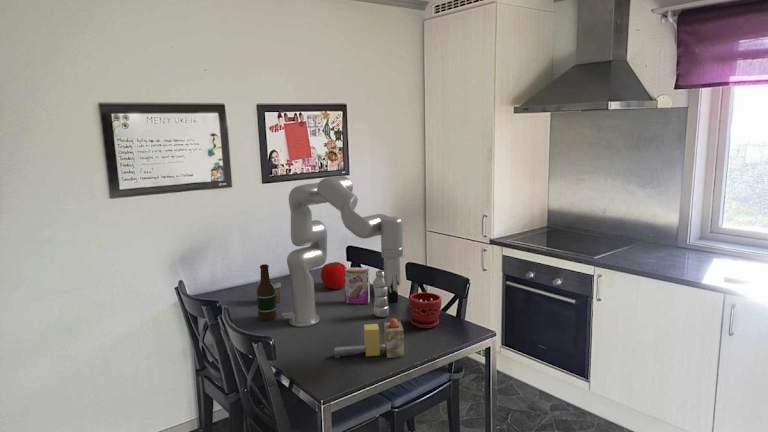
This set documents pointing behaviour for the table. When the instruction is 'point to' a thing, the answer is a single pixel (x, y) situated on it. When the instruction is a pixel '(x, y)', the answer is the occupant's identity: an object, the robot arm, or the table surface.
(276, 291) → the food container
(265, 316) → the beer bottle
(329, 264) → the tomato
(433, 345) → the table surface
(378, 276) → the plastic bottle
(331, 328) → the table surface
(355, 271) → the candy bar box
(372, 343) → the yellow block
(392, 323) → the button
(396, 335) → the beige mottled box
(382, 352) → the rail
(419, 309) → the plant pot
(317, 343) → the table surface
